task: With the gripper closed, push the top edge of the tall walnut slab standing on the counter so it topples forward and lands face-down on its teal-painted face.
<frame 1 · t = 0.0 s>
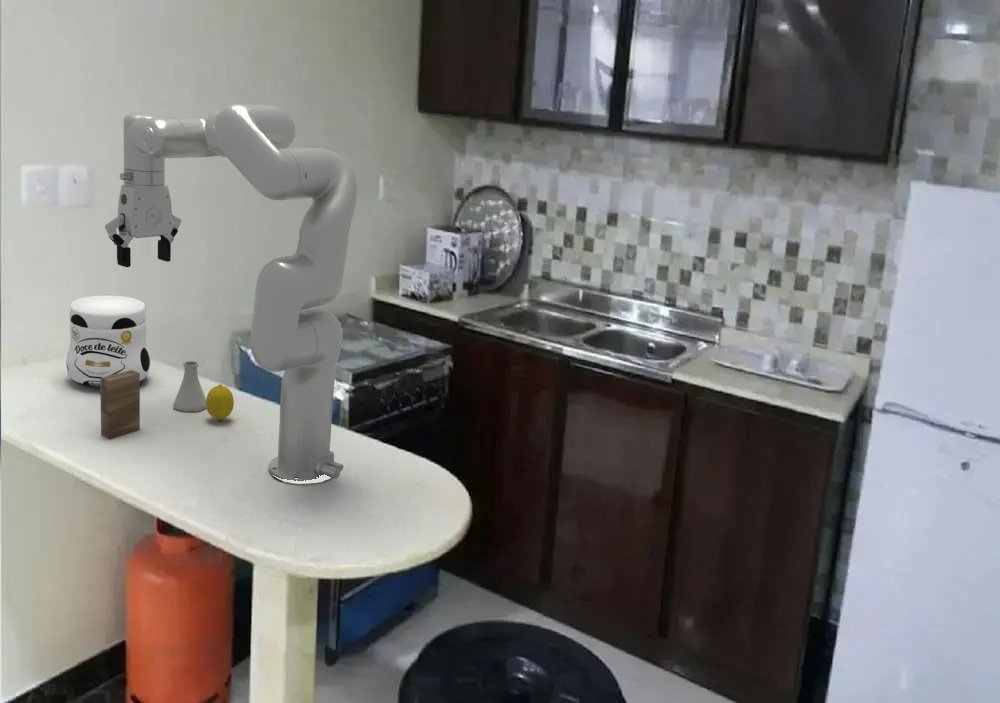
hand: (144, 263, 188), 31 cm above the table, fingers open, 9 cm apart
lemon: (219, 421, 195), on the table
walnut slab: (120, 432, 183), on the table
milk container: (109, 382, 209), on the table
flask: (190, 407, 200), on the table
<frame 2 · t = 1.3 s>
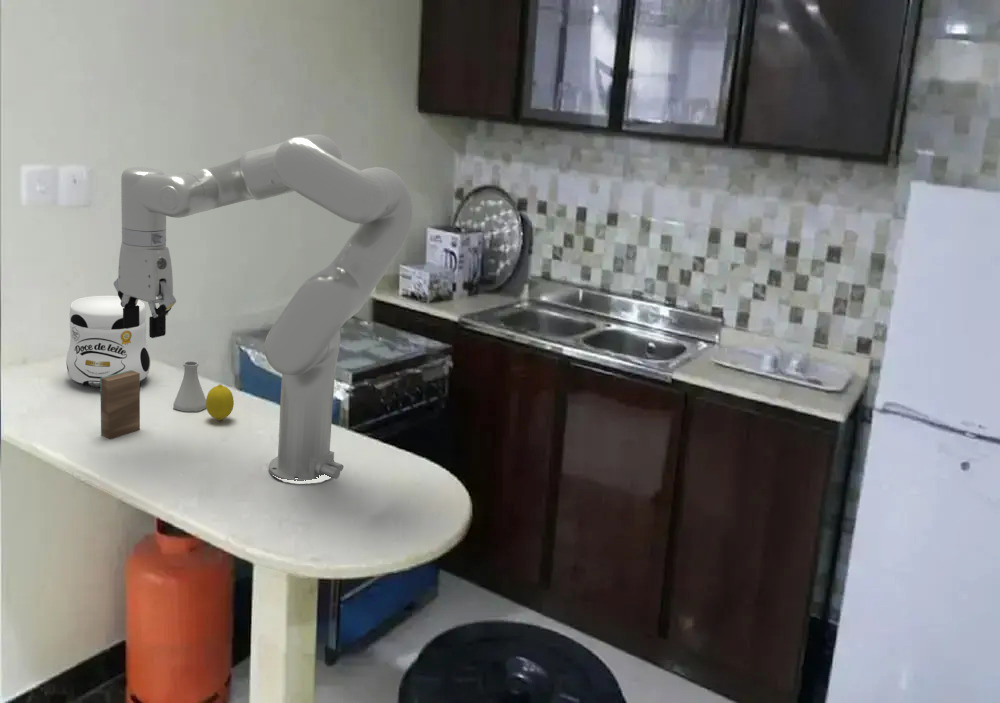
hand: (144, 331, 173), 23 cm above the table, fingers open, 6 cm apart
nothing on the table moved.
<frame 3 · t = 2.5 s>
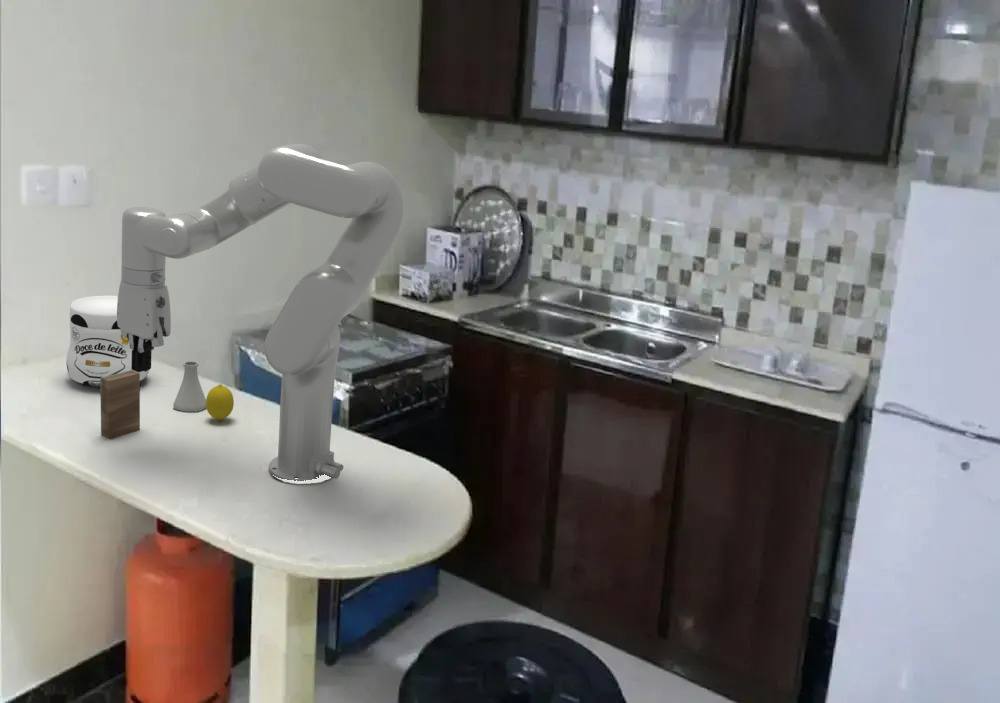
hand: (141, 369, 176), 15 cm above the table, fingers closed
nothing on the table moved.
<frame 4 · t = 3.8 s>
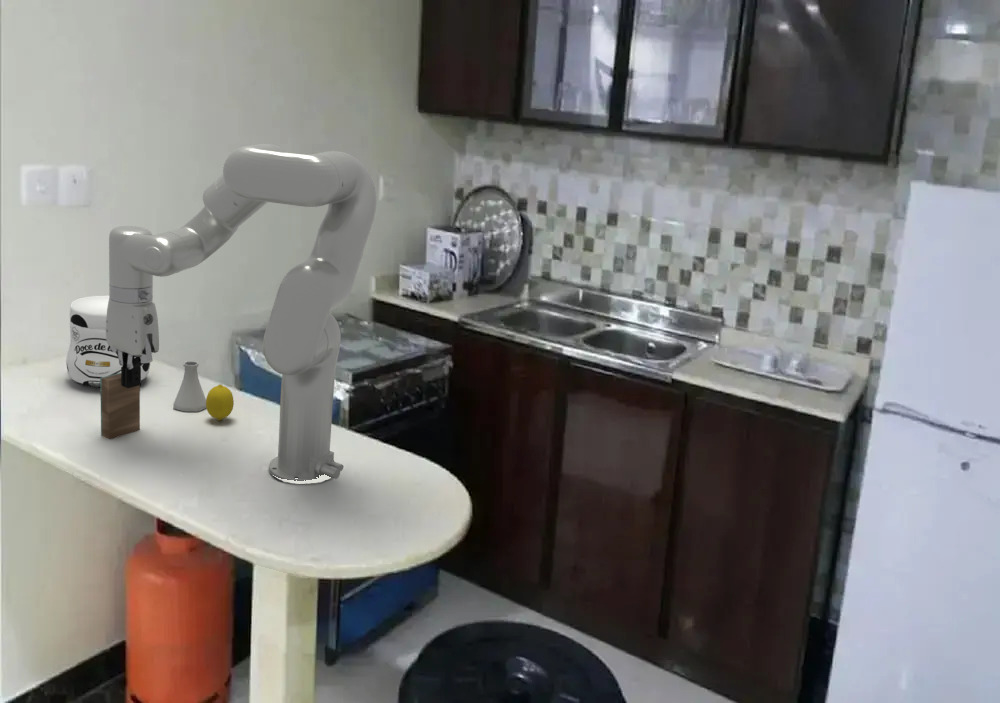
hand: (131, 385, 179), 11 cm above the table, fingers closed
nothing on the table moved.
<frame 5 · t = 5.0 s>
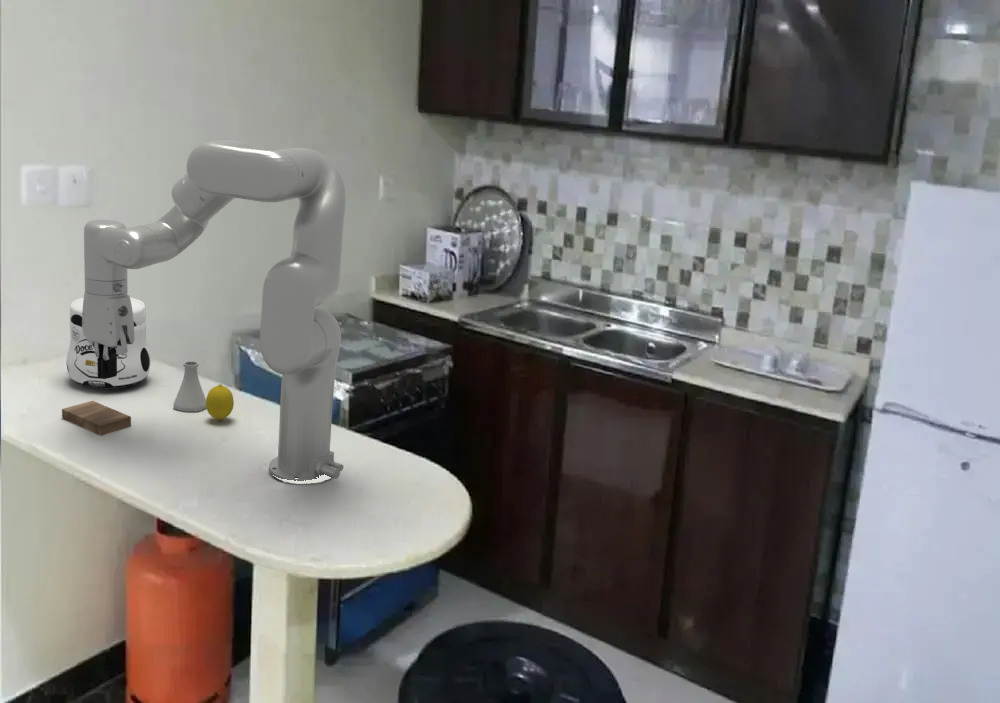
hand: (107, 376, 182), 11 cm above the table, fingers closed
walnut slab: (115, 426, 184), point 1 cm above the table, tilted 90°
everything else where it was.
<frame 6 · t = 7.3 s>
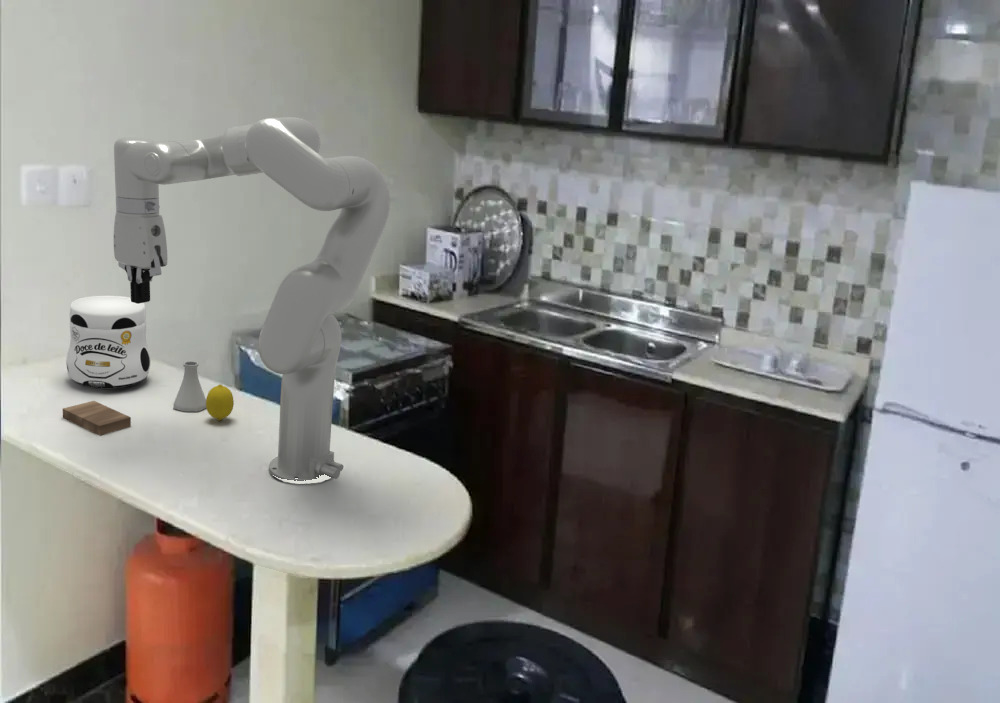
hand: (140, 301, 178), 27 cm above the table, fingers closed
nothing on the table moved.
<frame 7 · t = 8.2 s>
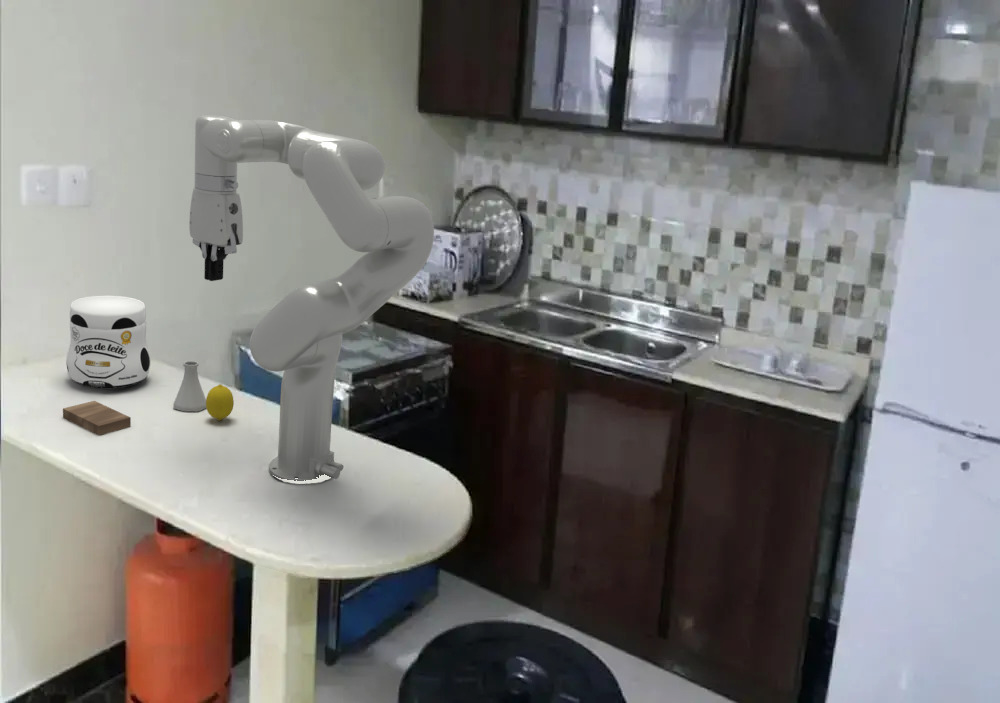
hand: (213, 279, 178), 32 cm above the table, fingers closed
nothing on the table moved.
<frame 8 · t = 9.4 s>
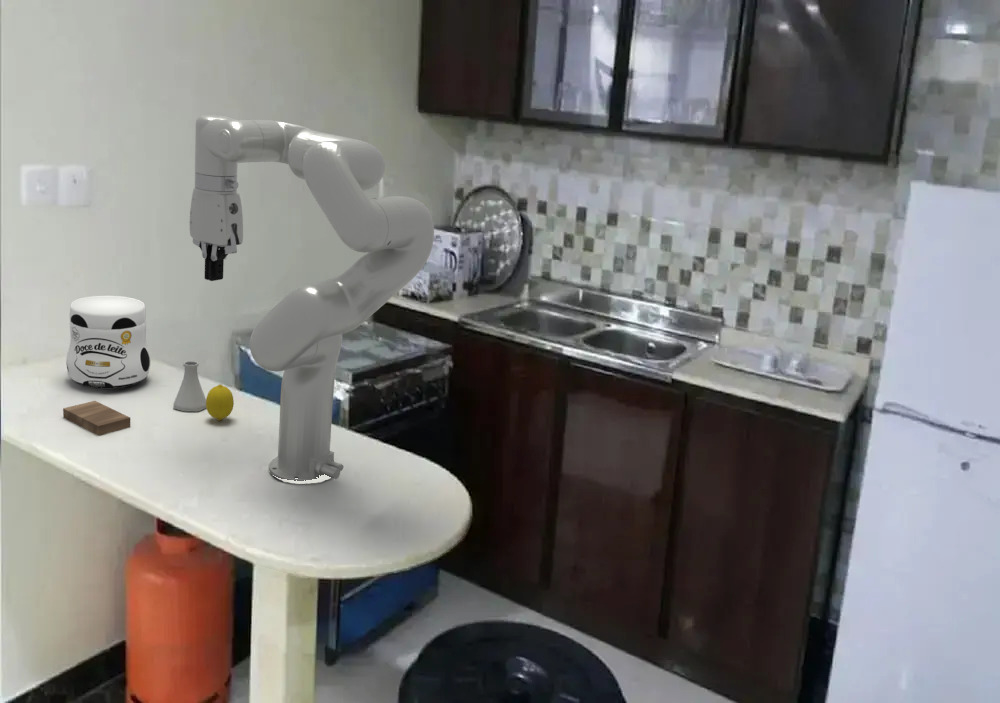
hand: (213, 279, 178), 32 cm above the table, fingers closed
nothing on the table moved.
at the end: walnut slab tilted 90°; walnut slab inside the target area (0.7 cm from its centre), point 0.7 cm above the table; the gripper is holding nothing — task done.
